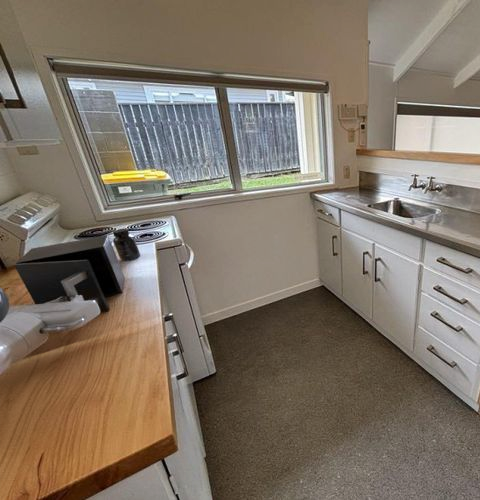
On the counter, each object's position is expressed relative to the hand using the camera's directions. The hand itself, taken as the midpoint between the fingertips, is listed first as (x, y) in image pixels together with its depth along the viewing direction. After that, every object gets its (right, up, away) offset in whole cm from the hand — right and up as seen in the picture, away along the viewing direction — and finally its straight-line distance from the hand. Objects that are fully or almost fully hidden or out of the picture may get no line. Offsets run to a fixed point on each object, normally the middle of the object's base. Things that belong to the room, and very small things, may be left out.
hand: (73, 298), depth 71 cm
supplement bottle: (-20, +9, +44) cm, 50 cm away
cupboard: (-13, -2, +18) cm, 22 cm away
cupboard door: (-7, -7, +5) cm, 11 cm away
